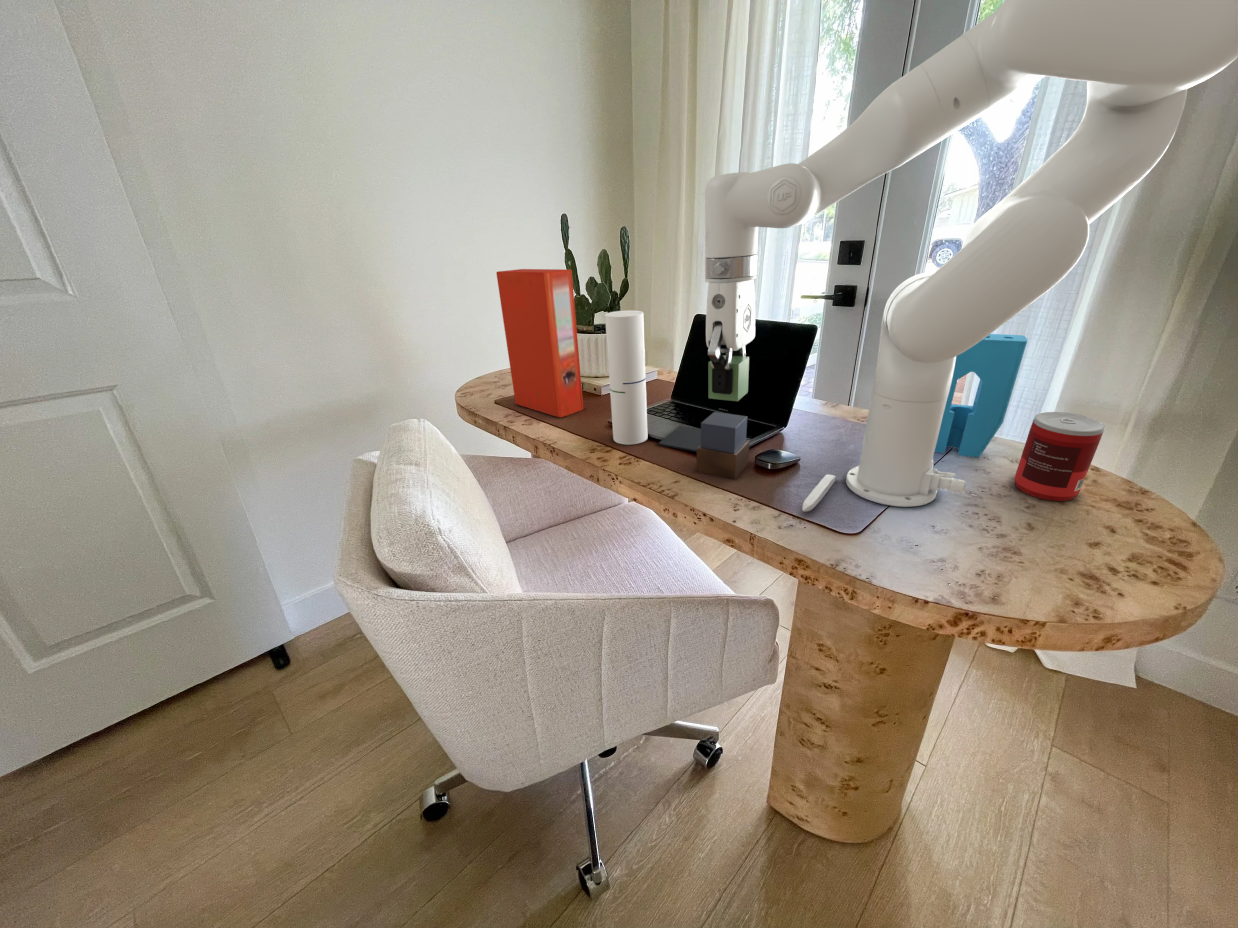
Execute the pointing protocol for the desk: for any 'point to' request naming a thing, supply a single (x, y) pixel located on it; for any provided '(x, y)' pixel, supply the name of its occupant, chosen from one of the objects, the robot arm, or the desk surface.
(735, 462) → the base block
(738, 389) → the green block
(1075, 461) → the canned food
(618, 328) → the cylindrical container
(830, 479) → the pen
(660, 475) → the desk surface
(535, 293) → the file binder
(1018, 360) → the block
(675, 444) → the coaster
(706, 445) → the mid block
